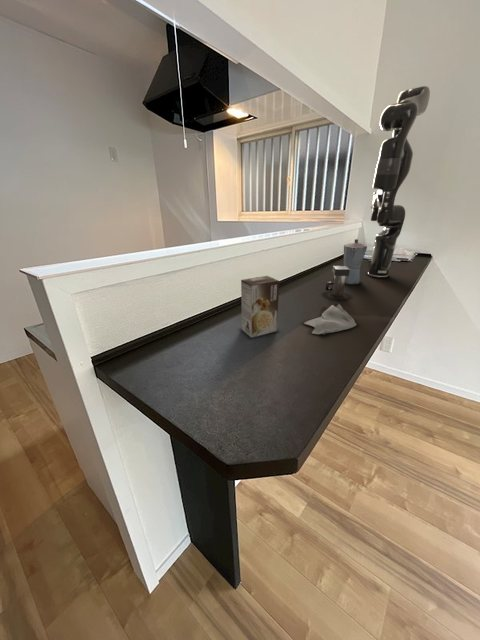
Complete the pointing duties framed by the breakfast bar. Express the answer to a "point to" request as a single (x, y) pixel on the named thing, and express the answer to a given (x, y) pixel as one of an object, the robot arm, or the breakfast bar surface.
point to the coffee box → (259, 305)
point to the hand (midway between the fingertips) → (376, 221)
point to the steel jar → (338, 280)
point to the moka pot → (354, 260)
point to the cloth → (332, 321)
